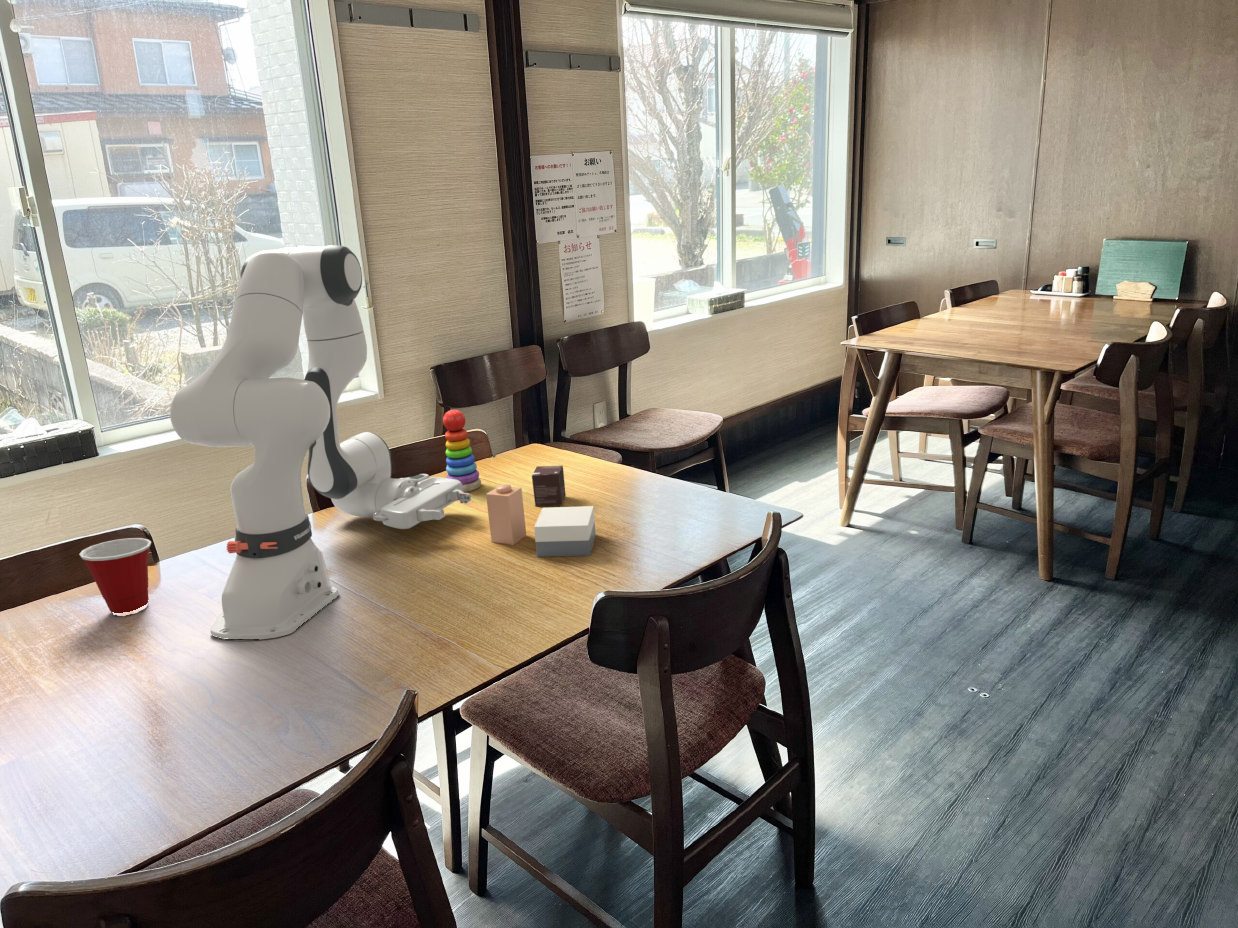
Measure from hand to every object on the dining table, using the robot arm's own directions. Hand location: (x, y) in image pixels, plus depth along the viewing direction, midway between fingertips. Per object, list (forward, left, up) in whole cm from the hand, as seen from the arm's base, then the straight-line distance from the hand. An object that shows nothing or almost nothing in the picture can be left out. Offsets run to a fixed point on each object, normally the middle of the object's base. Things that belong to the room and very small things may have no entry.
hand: (456, 506), depth 180 cm
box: (+17, -16, -6) cm, 24 cm away
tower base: (-8, -23, -6) cm, 25 cm away
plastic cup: (-31, +51, -6) cm, 60 cm away
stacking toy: (+28, +6, -6) cm, 29 cm away
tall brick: (-4, -11, -6) cm, 13 cm away
